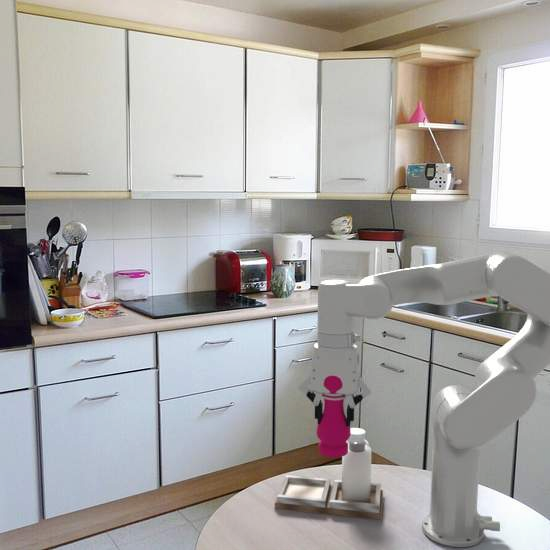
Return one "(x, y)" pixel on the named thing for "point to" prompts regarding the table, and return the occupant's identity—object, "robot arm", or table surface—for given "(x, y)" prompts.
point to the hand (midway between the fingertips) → (334, 422)
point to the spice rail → (325, 498)
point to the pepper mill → (333, 421)
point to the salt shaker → (356, 472)
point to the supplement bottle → (358, 435)
